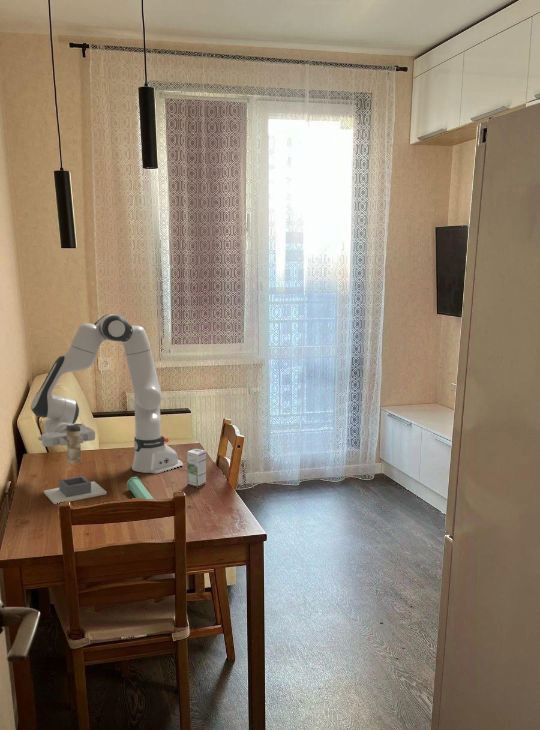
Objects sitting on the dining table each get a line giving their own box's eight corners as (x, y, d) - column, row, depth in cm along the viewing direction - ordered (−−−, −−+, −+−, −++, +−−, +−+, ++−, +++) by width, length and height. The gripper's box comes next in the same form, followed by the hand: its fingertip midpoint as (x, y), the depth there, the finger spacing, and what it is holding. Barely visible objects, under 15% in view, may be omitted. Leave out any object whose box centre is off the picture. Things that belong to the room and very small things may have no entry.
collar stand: (94, 483, 246) (93, 471, 245) (106, 494, 235) (106, 481, 234) (43, 492, 235) (43, 480, 234) (54, 504, 223) (53, 491, 223)
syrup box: (206, 484, 249) (206, 450, 247) (197, 488, 244) (197, 453, 242) (195, 481, 252) (196, 447, 250) (186, 485, 247) (186, 451, 245)
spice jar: (77, 459, 236) (76, 424, 233) (80, 462, 232) (80, 427, 230) (67, 461, 233) (66, 426, 231) (70, 463, 230) (69, 428, 228)
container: (155, 496, 219) (137, 473, 240) (140, 504, 216) (124, 481, 238) (161, 509, 220) (143, 486, 242) (146, 517, 218) (129, 493, 240)
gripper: (36, 429, 236) (46, 437, 224) (88, 423, 247) (99, 430, 236) (36, 445, 237) (46, 454, 225) (88, 438, 248) (100, 446, 237)
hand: (74, 442), depth 231 cm, fingers closed on spice jar, 4 cm apart
